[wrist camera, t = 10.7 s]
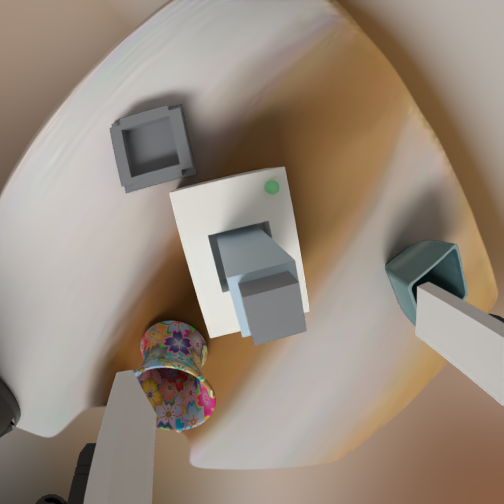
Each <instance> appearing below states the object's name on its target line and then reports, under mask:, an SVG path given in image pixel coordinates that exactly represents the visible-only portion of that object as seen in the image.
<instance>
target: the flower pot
mask: <svg viewBox="0 0 504 504" xmlns="http://www.w3.org/2000/svg"><path fill="white" fill-rule="evenodd" d="M385 269H386V273H387V275H388V277H389V280H390V282H391V285H392V287H393V290H394V292H395V295H396V298H397V300H398V303H399V305H400V307H401V309H402V311H403V312H404V314H405V315H406V316H407V318H408V319H409V320H410V321H411V322H412V323H413V324H414V325H415V327H416V312H417V286H420V285H422V284H424V283H427V282H430V283H432V284H434V285H436V286H438V287H440V288H441V289H443V290H445V291H447V292H449V293H451V294H453V295H455V296H456V297H458V298H460V299H462V300H464V299H465V298H466V297H467V286H466V282H465V277H464V272H463V268H462V263H461V258H460V253H459V249H458V246H457V244H454V243H448V242H442V241H436V240H425V241H421V242H418V243H415V244H413V245H411V246H409V247H408V248H407V249H405V250H404V251H403V252H402V253H400V254H399V255H398V256H397V257H395V258H394V259H393V260H391V261H390V262H389V263H388V264H387V265H386V266H385Z"/></svg>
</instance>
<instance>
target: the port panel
mask: <svg viewBox="0 0 504 504" xmlns="http://www.w3.org/2000/svg"><path fill="white" fill-rule="evenodd" d="M169 194H170V199H171V203H172V207H173V211H174V215H175V219H176V222H177V226H178V230H179V234H180V238H181V241H182V245H183V249H184V252H185V256H186V260H187V263H188V267H189V270H190V274H191V277H192V281H193V284H194V288H195V291H196V294H197V298H198V301H199V304H200V307H201V311H202V314H203V317H204V320H205V323H206V327H207V330H208V333H209V336H210V338H214V337H218V336H222V335H226V334H230V333H234V332H238V331H241V330H240V326H239V323H238V319H237V316H236V312H235V308H234V305H233V301H232V297H231V294H230V290H229V286H228V282H227V279H226V275H225V271H224V267H223V263H222V259H221V255H220V251H219V247H218V243H217V239H216V235H215V234H216V233H220V232H224V231H228V230H232V229H236V228H240V227H244V226H248V225H253V224H256V225H257V226H258V227H259V228H261V229H262V230H263V231H264V232H265V233H266V234H267V235H268V236H269V237H270V238H271V239H273V240H274V241H275V242H276V243H277V244H278V245H279V246H280V247H281V248H282V249H283V250H285V251H286V252H287V253H288V254H289V255H290V256H291V257H292V258H293V259H294V260H295V262H296V268H297V274H298V280H299V285H300V291H301V297H302V304H303V310H304V313H306V312H310V310H309V304H308V297H307V290H306V284H305V277H304V271H303V265H302V259H301V253H300V247H299V241H298V235H297V229H296V224H295V218H294V213H293V207H292V202H291V196H290V191H289V186H288V181H287V176H286V171H285V167H274V168H263V169H259V170H254V171H249V172H244V173H240V174H235V175H231V176H226V177H222V178H217V179H213V180H209V181H205V182H201V183H197V184H193V185H189V186H185V187H181V188H177V189H175V190H173V191H172V192H170V193H169Z"/></svg>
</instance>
